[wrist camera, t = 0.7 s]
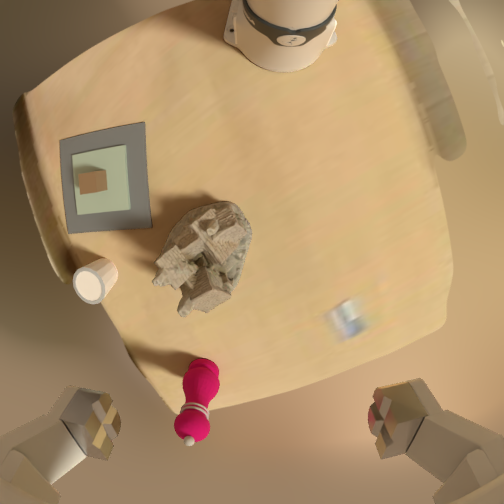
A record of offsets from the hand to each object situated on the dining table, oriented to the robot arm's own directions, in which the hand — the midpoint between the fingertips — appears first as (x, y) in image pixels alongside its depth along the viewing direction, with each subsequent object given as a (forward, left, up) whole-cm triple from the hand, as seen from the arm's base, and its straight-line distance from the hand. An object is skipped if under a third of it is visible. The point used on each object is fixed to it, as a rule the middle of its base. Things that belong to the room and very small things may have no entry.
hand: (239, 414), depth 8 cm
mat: (-6, -26, -42) cm, 49 cm away
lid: (-6, -26, -41) cm, 49 cm away
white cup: (+11, -28, -42) cm, 52 cm away
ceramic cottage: (+8, -7, -42) cm, 43 cm away
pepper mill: (+33, -11, -42) cm, 54 cm away
